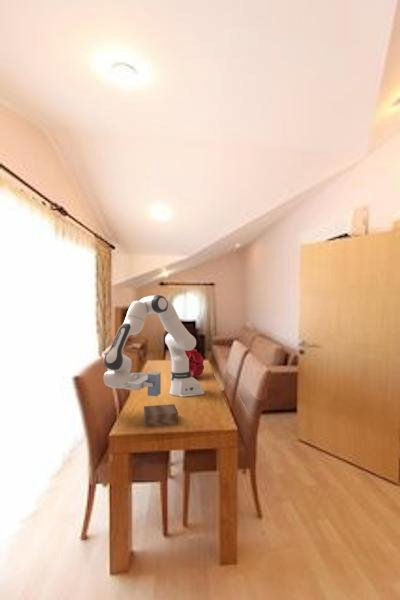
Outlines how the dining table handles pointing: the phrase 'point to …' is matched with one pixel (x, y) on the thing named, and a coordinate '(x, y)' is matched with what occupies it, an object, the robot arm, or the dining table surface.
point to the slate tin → (156, 379)
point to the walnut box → (160, 415)
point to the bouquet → (195, 362)
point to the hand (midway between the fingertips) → (155, 383)
